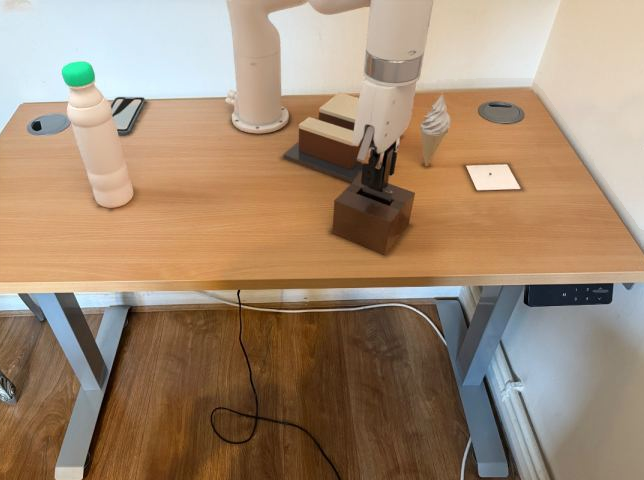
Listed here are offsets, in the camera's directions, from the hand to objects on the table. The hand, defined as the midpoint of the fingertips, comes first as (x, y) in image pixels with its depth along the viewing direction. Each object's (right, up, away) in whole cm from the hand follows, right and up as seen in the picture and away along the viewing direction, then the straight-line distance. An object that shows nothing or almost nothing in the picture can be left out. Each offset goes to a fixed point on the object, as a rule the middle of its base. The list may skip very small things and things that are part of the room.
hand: (377, 178), depth 84 cm
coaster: (+25, +4, +17) cm, 31 cm away
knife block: (0, -7, +8) cm, 11 cm away
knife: (+1, -7, +8) cm, 11 cm away
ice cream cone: (+14, +6, +21) cm, 25 cm away
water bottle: (-46, -1, +16) cm, 49 cm away
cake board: (-2, +12, +26) cm, 28 cm away
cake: (0, +15, +27) cm, 31 cm away
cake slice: (-5, +9, +22) cm, 24 cm away
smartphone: (-50, +21, +37) cm, 66 cm away
